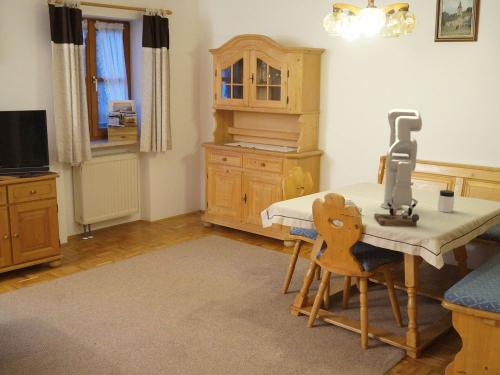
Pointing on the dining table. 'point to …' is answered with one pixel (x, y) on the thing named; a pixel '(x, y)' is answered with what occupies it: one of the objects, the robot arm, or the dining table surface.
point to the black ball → (415, 217)
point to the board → (394, 220)
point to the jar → (446, 201)
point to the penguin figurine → (352, 203)
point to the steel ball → (404, 214)
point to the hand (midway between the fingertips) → (400, 215)
